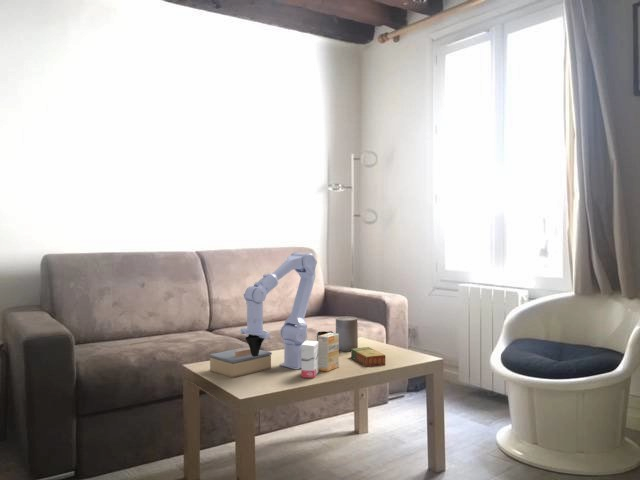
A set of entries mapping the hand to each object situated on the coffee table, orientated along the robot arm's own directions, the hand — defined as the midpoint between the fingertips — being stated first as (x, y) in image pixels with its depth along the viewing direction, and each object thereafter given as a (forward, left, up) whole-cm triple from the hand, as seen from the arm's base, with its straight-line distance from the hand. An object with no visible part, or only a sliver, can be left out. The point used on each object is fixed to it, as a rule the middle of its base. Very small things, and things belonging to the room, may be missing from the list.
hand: (255, 355), depth 205 cm
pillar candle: (+2, -54, -7) cm, 54 cm away
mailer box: (+8, 0, -7) cm, 11 cm away
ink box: (-16, -13, -7) cm, 21 cm away
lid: (+8, 0, -1) cm, 9 cm away
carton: (-18, -44, -7) cm, 48 cm away
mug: (-5, -33, -7) cm, 34 cm away
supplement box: (-15, -24, -7) cm, 29 cm away
